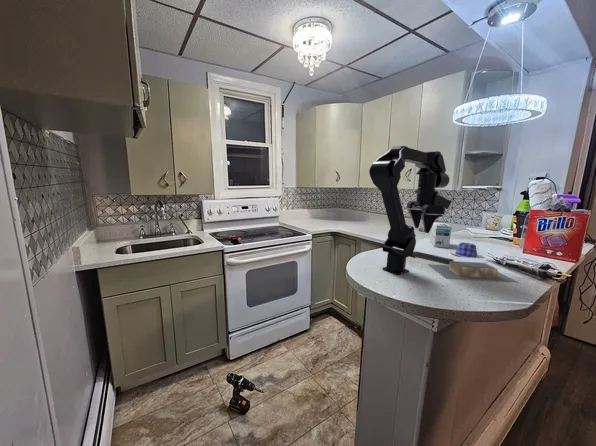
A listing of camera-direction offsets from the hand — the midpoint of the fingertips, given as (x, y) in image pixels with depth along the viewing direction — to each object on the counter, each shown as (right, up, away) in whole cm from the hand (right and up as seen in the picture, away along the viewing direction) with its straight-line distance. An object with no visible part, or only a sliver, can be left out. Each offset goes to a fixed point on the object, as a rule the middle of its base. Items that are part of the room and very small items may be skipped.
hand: (421, 230), depth 92 cm
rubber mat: (+13, -15, -7) cm, 21 cm away
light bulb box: (+25, -9, +33) cm, 42 cm away
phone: (+8, -12, +9) cm, 18 cm away
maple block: (+7, -13, -7) cm, 16 cm away
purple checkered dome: (+27, -12, +16) cm, 34 cm away
